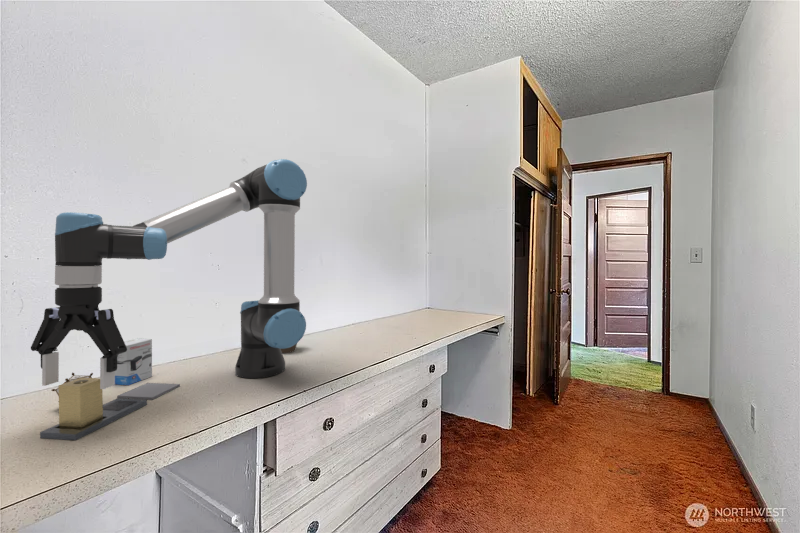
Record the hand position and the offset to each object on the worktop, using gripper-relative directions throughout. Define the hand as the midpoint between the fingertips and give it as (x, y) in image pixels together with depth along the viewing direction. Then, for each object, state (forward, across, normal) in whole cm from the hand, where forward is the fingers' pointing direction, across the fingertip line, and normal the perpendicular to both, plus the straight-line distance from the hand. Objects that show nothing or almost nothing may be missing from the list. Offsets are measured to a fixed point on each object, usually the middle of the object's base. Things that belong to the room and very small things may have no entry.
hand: (78, 385), depth 78 cm
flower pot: (+8, -17, -67) cm, 70 cm away
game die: (+10, +12, -10) cm, 18 cm away
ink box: (+9, +14, -29) cm, 34 cm away
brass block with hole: (+9, 0, 0) cm, 9 cm away
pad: (+9, +2, -21) cm, 23 cm away
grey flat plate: (+9, 0, -4) cm, 10 cm away
